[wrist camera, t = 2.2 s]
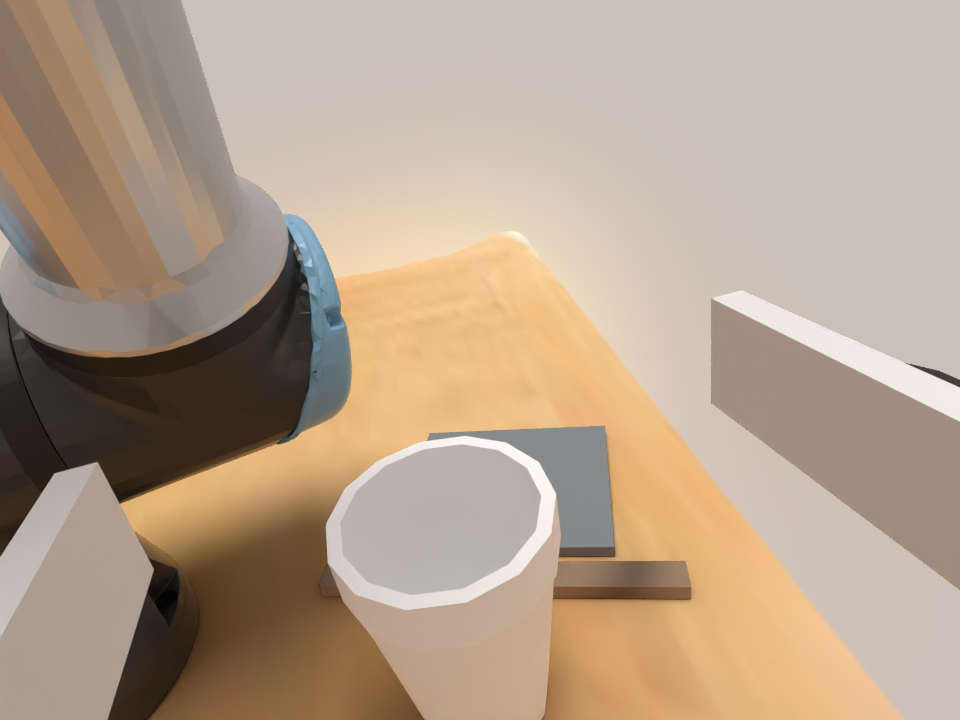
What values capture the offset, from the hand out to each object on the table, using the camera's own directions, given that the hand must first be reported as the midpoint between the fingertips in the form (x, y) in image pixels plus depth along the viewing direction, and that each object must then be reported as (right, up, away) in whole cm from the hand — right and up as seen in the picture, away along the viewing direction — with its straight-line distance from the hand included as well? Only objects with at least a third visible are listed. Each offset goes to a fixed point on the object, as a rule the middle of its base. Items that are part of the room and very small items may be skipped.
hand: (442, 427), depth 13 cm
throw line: (+2, -12, +24) cm, 27 cm away
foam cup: (+1, -16, +18) cm, 24 cm away
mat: (+3, -8, +31) cm, 32 cm away
